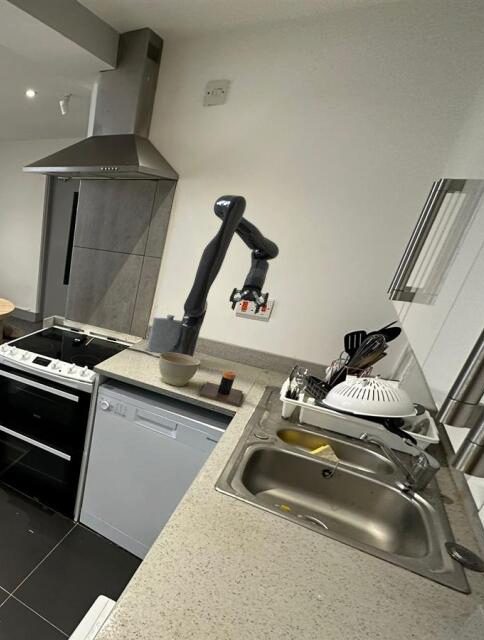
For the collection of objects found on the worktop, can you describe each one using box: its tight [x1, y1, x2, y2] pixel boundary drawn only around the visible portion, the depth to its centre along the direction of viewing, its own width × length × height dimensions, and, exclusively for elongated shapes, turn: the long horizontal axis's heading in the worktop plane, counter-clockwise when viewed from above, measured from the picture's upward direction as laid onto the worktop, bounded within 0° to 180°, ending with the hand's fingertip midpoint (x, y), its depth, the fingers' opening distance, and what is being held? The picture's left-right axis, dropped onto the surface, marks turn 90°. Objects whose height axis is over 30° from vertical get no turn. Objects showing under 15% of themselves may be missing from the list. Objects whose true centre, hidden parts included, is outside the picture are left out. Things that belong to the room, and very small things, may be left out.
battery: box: [218, 370, 237, 395], centre depth 158 cm, size 4×4×9 cm
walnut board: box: [199, 381, 243, 407], centre depth 160 cm, size 14×16×1 cm
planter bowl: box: [158, 352, 201, 387], centre depth 167 cm, size 16×16×11 cm
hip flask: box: [146, 314, 182, 354], centre depth 204 cm, size 16×4×20 cm, turn 79°
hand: (244, 311), depth 168 cm, fingers open, 8 cm apart
